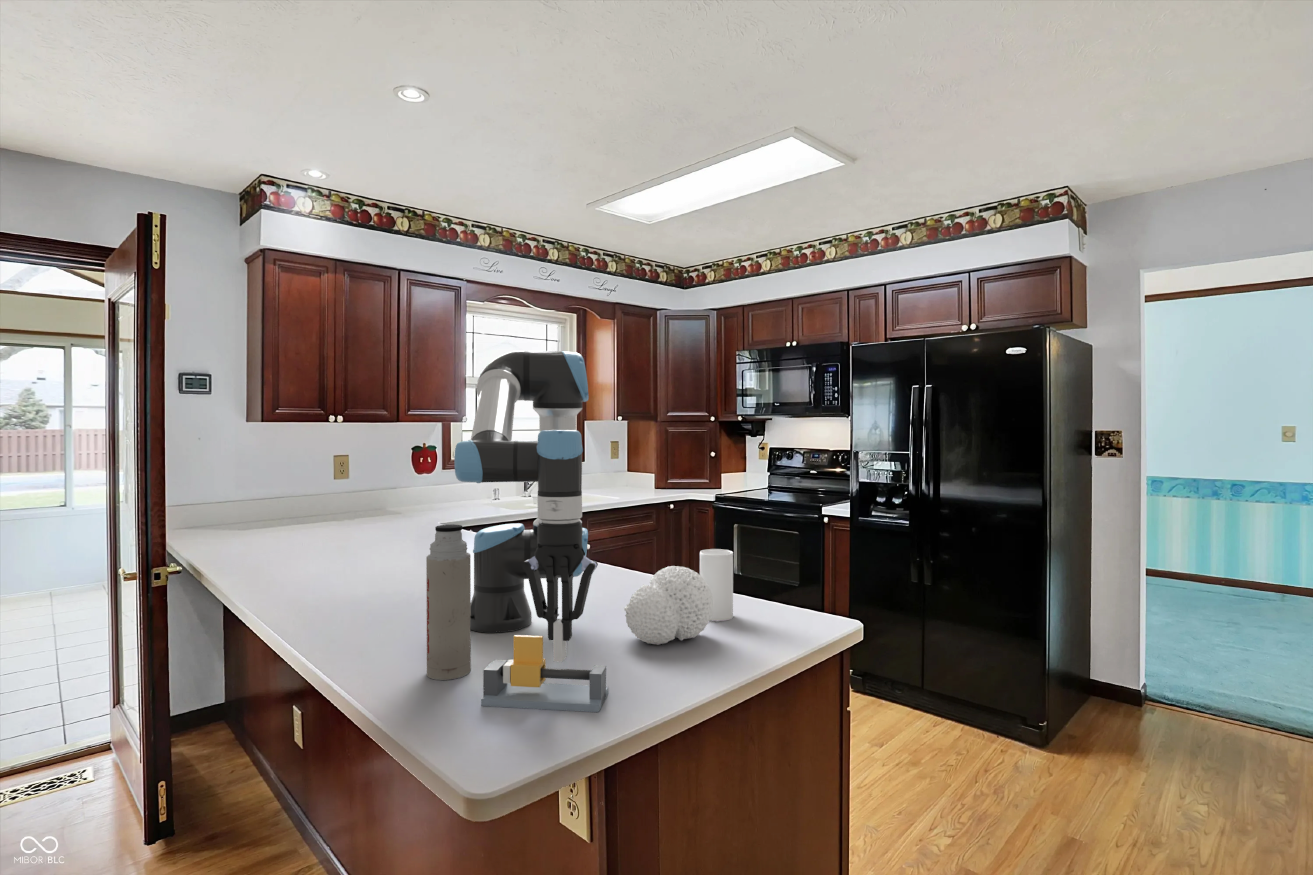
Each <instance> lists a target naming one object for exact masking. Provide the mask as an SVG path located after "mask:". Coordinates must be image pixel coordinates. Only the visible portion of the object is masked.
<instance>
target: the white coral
mask: <svg viewBox="0 0 1313 875" xmlns="http://www.w3.org/2000/svg"><path fill="white" fill-rule="evenodd" d="M623 608H624V611H625V613H626V614H625V615H624V616H625V619H626V624H627V628H629V629H630V631H631V633H632V634H633V635H634V636H635V637H636V639H639V640H640V641H642V642H643V643H644V642H645V644H648V645H649V644H650V645H651V644H652V645H657V646H659V645H661V644H662V645H665V644H667V643H668V642H670V641H673V640H674V639H675V638H676V639H677V638H678V640H679V641H683V640H687V639H691V638H693V639H694V638H696V637H697V636H699V635H700V634H701V632H703V631H704V630H705V629H706V627H707V626H708V625H709V622H710V619H711V617H712V611H713V597H712V594H711V590H710V589H709V586H708V585H707V583H706V581H705V580H704V579H703V578H702V577H701V576H700V573H698V572H696V571H695V570H693V569H690V567H685V566H679V565H677V566H675V565H671V566H669V565H668V566H667V567H666V566H665V567H664V568H661V569H660V570H658V571H657V572H655V574H653V576H652V578H650V581H649V585H646V584H643V585H642V586H640V587H639V588H638V589H636V590H635V592H634V593H633V594H632V595H631V597H630V600H629V603H627V604H626V606H625V607H623Z"/></svg>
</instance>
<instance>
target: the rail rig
mask: <svg viewBox="0 0 1313 875" xmlns="http://www.w3.org/2000/svg"><path fill="white" fill-rule="evenodd" d="M513 662H514V659H508V660H507V659H493V660H492V661H491V662H490V663H489V664H488V665H487V666H486V667H484V668H483V671H482V673H483V675H482V676H483V678H482V679H483V685H482V686H483V688H482V690H483V691H482V692H483V696H482V697H481V698H480V706H481V707H495V708H496V707H498V708H499V707H500V708H514V709H532V710H533V709H534V710H549V711H550V710H551V711H553V710H554V711H555V710H556V711H569V712H570V711H572V712H588V713H589V712H590V713H591V712H592V713H599V712H601V708H602V706H603V704H604V703H605V700H606V698H607V697H608V695H609V685H607V665H599V664H598V665H597V664H596V665H594V666H593V667H592V669H576V668H575V669H574V668H573V669H572V668H555V667H554V668H551V667H550V668H549V667H546V668H540V669H541V678H546V679H558V680H578V681H580V680H581V681H589V682H588V683H589V684H567V683H551V682H550V683H547V682H543V684H542V685H541V686H540V687H521V686H511V664H512V663H513Z"/></svg>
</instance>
